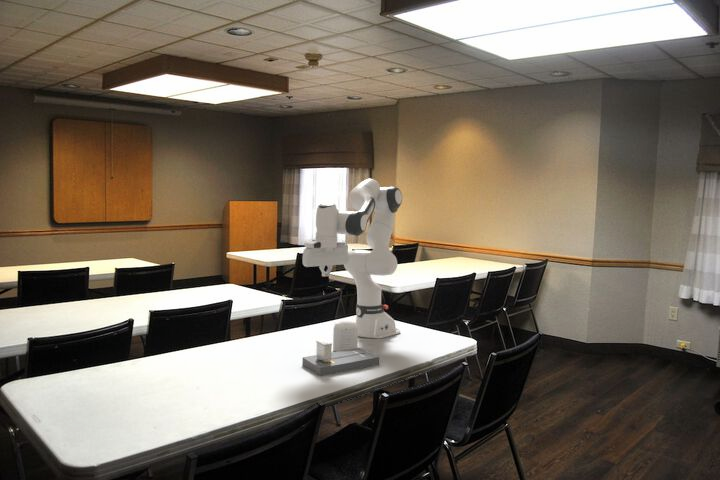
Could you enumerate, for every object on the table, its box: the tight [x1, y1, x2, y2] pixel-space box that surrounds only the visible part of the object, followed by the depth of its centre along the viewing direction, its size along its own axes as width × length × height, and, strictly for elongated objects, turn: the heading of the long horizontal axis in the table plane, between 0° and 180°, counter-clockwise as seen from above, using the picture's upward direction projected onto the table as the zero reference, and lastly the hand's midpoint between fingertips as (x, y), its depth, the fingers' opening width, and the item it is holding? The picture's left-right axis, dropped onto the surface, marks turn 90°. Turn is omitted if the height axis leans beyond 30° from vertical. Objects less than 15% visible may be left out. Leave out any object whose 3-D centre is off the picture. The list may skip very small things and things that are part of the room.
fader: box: [316, 339, 333, 362], centre depth 202 cm, size 3×6×7 cm, turn 33°
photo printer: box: [332, 320, 359, 352], centre depth 225 cm, size 10×4×12 cm, turn 98°
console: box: [301, 347, 381, 377], centre depth 207 cm, size 26×14×3 cm, turn 123°
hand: (325, 276), depth 223 cm, fingers closed
